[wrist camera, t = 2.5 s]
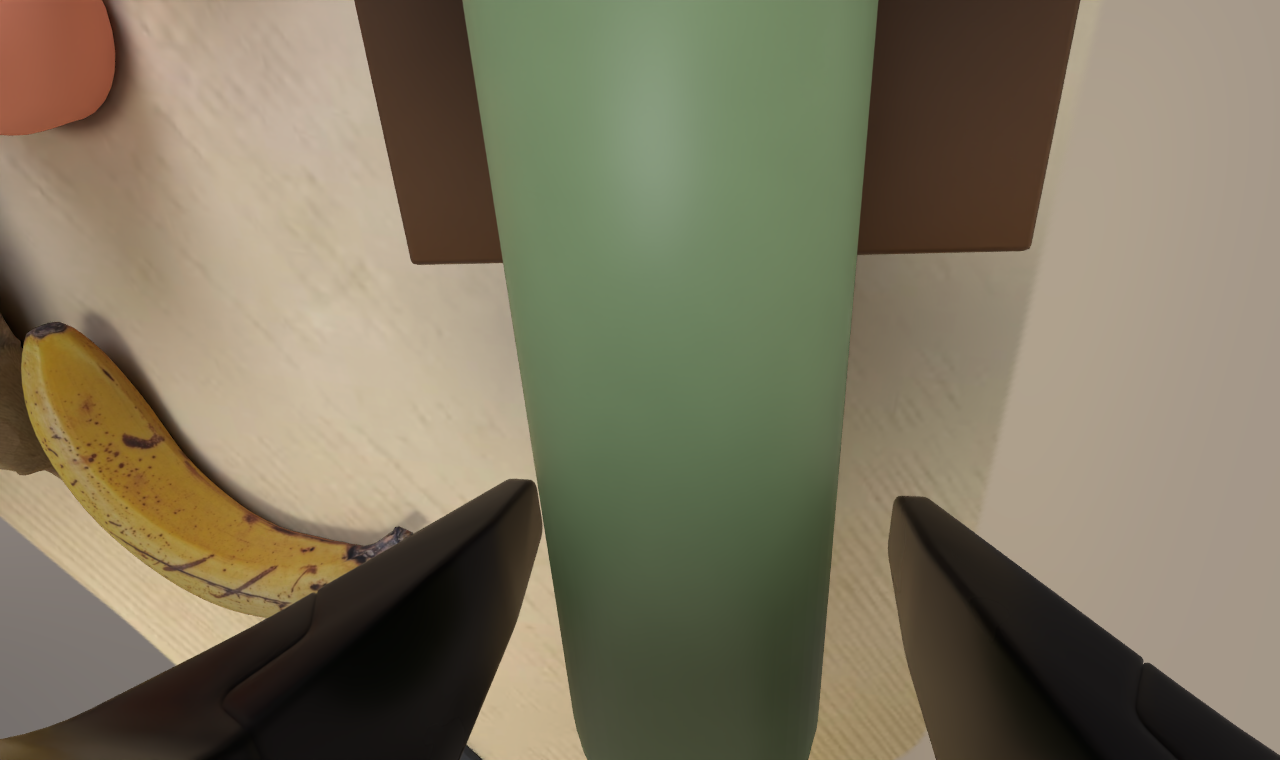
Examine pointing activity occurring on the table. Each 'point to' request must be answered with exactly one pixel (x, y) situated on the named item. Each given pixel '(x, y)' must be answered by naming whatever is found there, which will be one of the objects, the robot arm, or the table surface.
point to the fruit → (165, 486)
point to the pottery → (53, 63)
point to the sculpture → (16, 413)
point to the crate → (896, 137)
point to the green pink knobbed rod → (682, 344)
